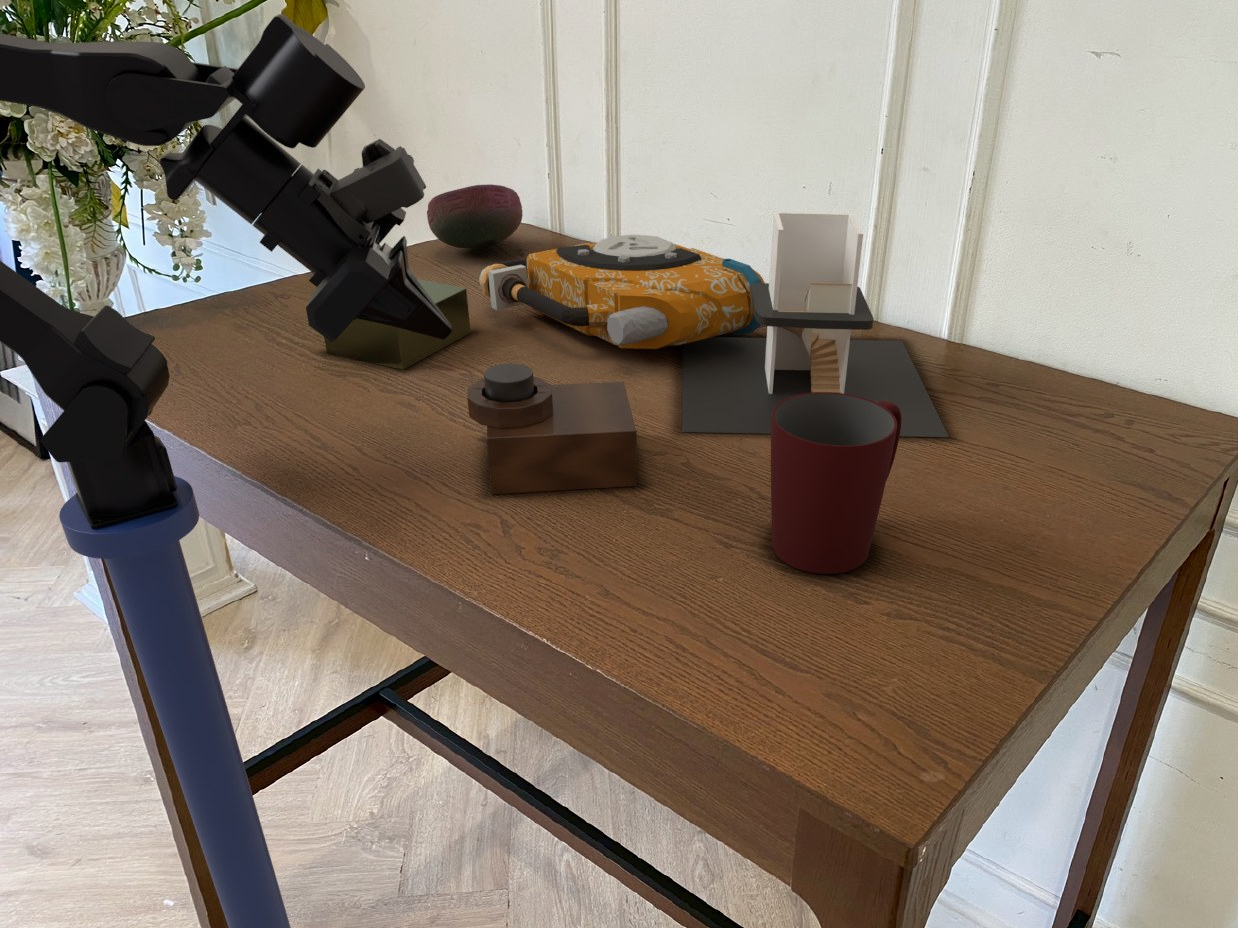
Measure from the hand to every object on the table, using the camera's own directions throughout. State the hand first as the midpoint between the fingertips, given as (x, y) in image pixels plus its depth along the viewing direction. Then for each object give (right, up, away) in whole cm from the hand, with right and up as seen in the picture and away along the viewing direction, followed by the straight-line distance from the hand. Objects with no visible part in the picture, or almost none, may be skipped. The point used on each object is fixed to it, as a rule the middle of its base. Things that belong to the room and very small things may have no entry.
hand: (448, 334), depth 81 cm
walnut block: (+8, -10, +8) cm, 15 cm away
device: (+11, +8, +36) cm, 38 cm away
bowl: (-10, +22, +56) cm, 61 cm away
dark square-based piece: (+31, -1, +24) cm, 39 cm away
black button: (+4, -4, +4) cm, 7 cm away
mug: (+30, -17, -2) cm, 35 cm away
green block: (-13, +5, +30) cm, 33 cm away
